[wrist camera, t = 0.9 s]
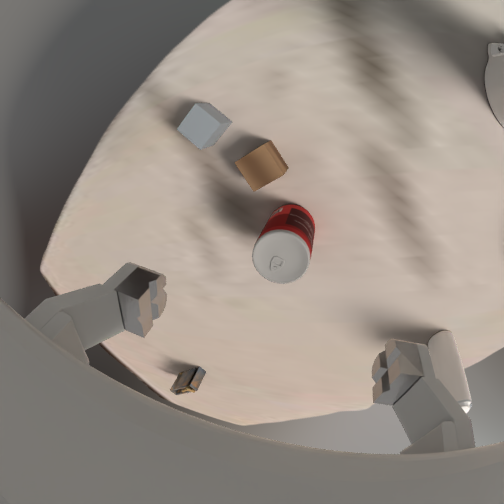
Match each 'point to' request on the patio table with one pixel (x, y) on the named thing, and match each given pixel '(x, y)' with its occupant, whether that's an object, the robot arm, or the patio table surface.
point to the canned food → (285, 245)
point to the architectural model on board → (188, 381)
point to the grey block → (204, 125)
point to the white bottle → (449, 367)
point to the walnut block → (262, 166)
